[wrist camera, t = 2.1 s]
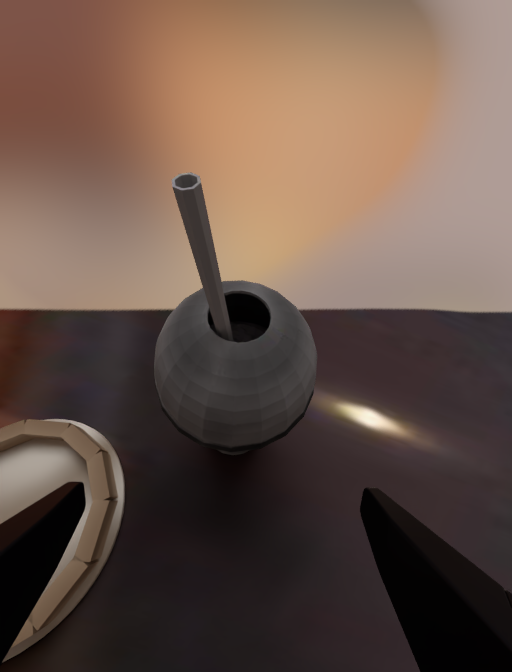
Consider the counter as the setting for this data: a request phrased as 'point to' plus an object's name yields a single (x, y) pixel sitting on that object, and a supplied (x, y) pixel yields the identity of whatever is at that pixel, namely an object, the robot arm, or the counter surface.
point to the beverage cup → (231, 351)
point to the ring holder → (46, 476)
